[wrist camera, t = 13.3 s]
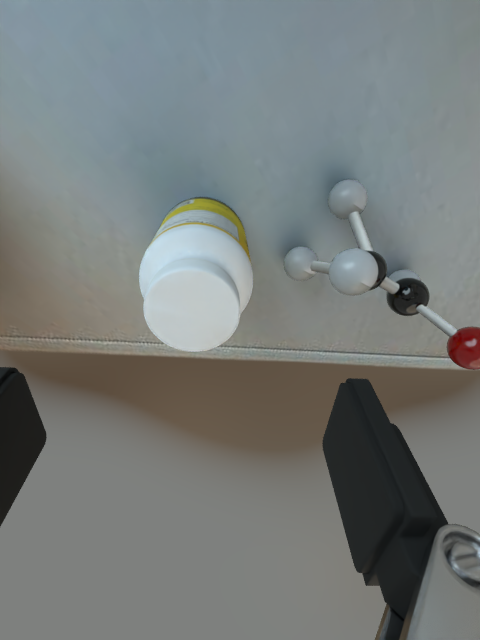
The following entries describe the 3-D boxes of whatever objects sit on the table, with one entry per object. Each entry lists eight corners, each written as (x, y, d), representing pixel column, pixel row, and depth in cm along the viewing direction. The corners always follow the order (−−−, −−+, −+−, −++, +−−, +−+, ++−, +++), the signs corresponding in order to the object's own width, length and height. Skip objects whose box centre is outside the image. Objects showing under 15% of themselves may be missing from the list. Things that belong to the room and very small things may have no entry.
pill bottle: (208, 290, 28) (200, 385, 18) (144, 240, 26) (95, 319, 16) (262, 235, 26) (287, 310, 16) (198, 173, 23) (180, 218, 14)
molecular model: (339, 168, 24) (412, 203, 15) (451, 249, 27) (565, 317, 18) (274, 263, 27) (301, 338, 18) (381, 323, 31) (448, 411, 22)
